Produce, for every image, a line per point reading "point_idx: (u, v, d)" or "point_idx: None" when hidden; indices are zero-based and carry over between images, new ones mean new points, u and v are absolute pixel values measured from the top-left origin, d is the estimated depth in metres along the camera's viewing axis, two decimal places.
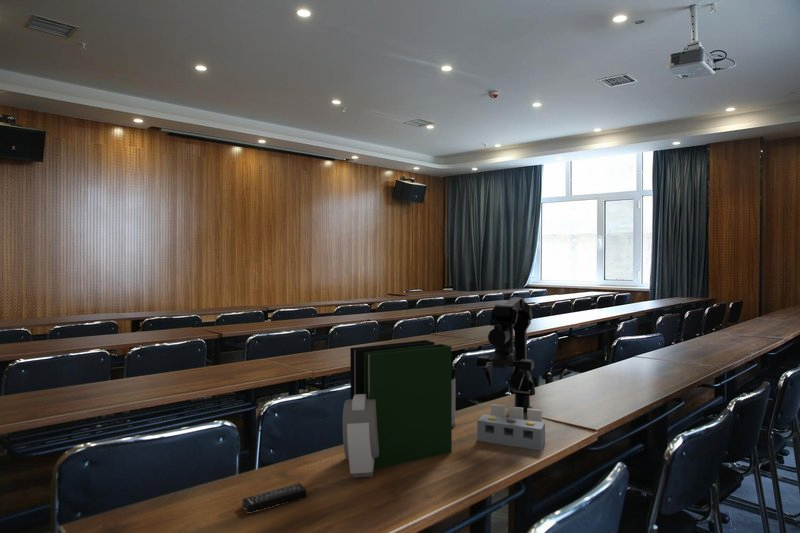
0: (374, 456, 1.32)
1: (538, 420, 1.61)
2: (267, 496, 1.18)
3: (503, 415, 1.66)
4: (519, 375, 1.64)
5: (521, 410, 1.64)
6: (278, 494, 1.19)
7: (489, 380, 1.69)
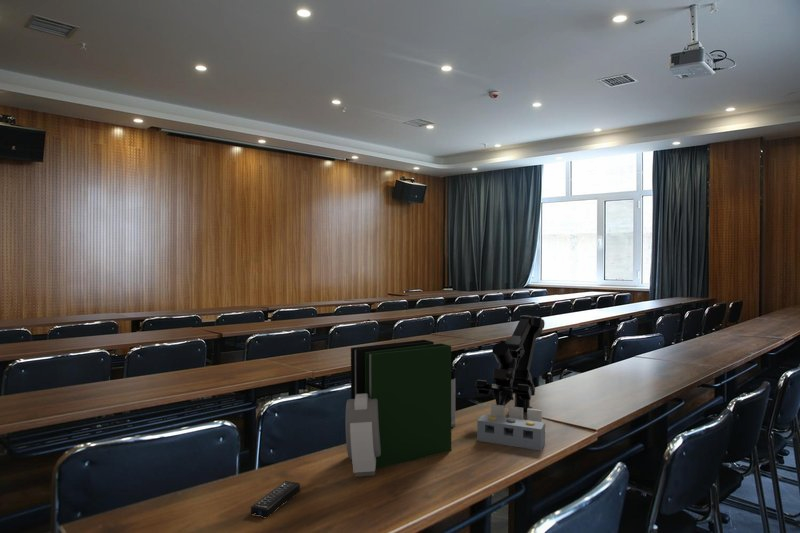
0: (376, 455, 1.33)
1: (538, 420, 1.61)
2: (272, 498, 1.17)
3: (503, 415, 1.66)
4: (503, 395, 1.70)
5: (521, 410, 1.64)
6: (280, 493, 1.19)
7: (497, 403, 1.69)
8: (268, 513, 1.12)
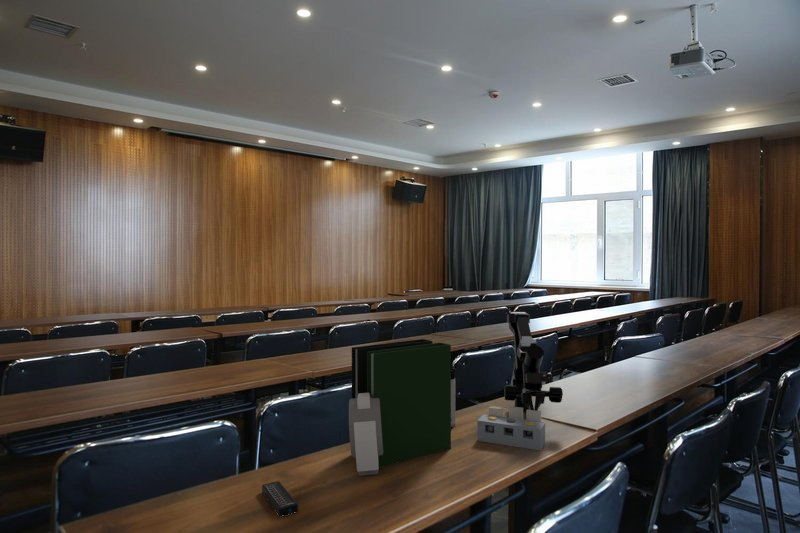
0: (380, 454, 1.34)
1: (537, 421, 1.60)
2: (282, 497, 1.17)
3: None
4: (536, 400, 1.64)
5: (521, 410, 1.64)
6: (281, 492, 1.20)
7: (532, 408, 1.63)
8: None
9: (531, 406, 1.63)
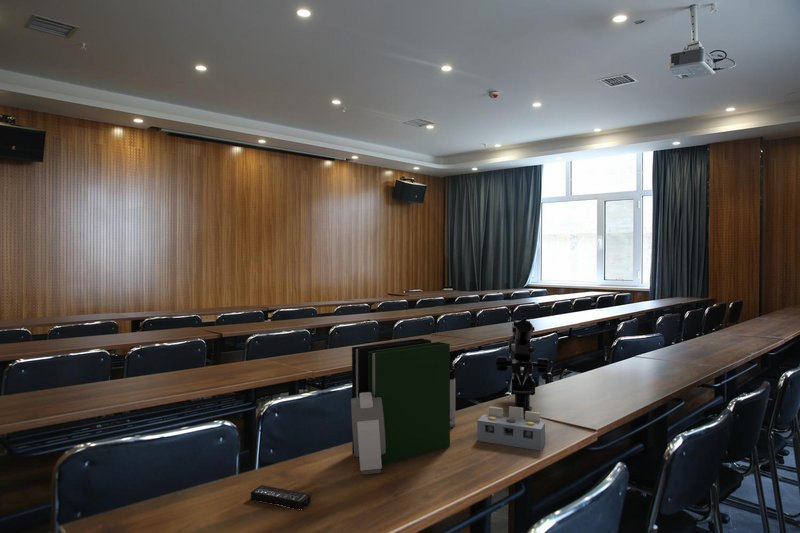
0: (382, 452, 1.35)
1: None
2: (287, 494, 1.19)
3: None
4: (524, 369, 1.79)
5: (521, 410, 1.64)
6: (280, 491, 1.20)
7: (520, 377, 1.78)
8: None
9: (519, 375, 1.78)
